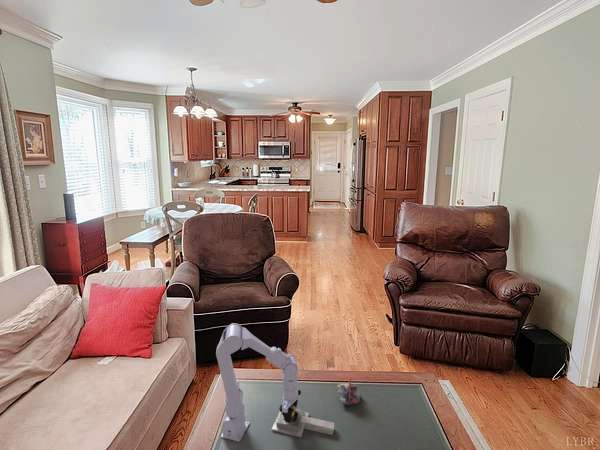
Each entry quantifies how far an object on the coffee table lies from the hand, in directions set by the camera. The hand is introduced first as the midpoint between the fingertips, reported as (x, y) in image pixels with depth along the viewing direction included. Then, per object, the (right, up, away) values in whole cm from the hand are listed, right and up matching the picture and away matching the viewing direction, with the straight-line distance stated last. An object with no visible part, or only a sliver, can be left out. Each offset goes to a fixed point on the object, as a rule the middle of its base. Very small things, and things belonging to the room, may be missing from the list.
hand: (290, 414), depth 141 cm
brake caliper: (+25, -1, +13) cm, 28 cm away
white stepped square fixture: (+6, -4, -1) cm, 7 cm away
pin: (0, -4, +1) cm, 4 cm away
